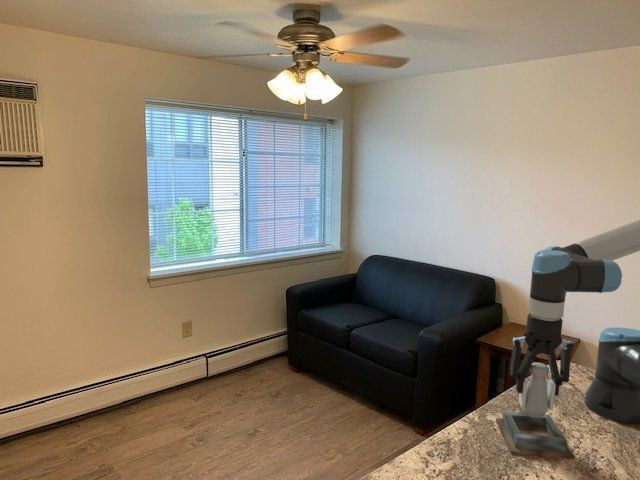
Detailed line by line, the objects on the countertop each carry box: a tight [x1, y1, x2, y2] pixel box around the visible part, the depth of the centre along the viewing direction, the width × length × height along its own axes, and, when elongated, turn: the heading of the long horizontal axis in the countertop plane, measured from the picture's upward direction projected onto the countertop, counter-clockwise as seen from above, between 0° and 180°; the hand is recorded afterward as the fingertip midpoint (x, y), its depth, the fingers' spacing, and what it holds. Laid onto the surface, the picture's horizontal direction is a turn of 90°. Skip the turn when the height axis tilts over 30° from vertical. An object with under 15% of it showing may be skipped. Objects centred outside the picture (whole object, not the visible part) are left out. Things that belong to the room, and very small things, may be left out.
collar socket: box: [495, 411, 575, 460], centre depth 116 cm, size 14×14×4 cm
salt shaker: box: [523, 361, 550, 418], centre depth 114 cm, size 6×6×13 cm
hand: (535, 405), depth 114 cm, fingers closed on salt shaker, 6 cm apart
